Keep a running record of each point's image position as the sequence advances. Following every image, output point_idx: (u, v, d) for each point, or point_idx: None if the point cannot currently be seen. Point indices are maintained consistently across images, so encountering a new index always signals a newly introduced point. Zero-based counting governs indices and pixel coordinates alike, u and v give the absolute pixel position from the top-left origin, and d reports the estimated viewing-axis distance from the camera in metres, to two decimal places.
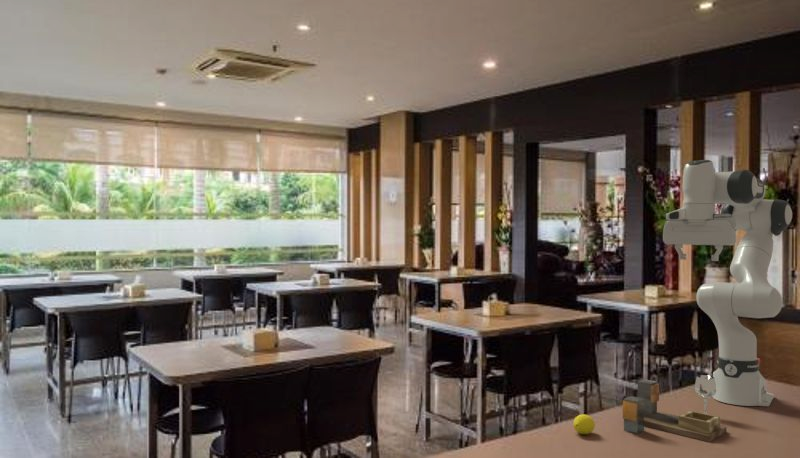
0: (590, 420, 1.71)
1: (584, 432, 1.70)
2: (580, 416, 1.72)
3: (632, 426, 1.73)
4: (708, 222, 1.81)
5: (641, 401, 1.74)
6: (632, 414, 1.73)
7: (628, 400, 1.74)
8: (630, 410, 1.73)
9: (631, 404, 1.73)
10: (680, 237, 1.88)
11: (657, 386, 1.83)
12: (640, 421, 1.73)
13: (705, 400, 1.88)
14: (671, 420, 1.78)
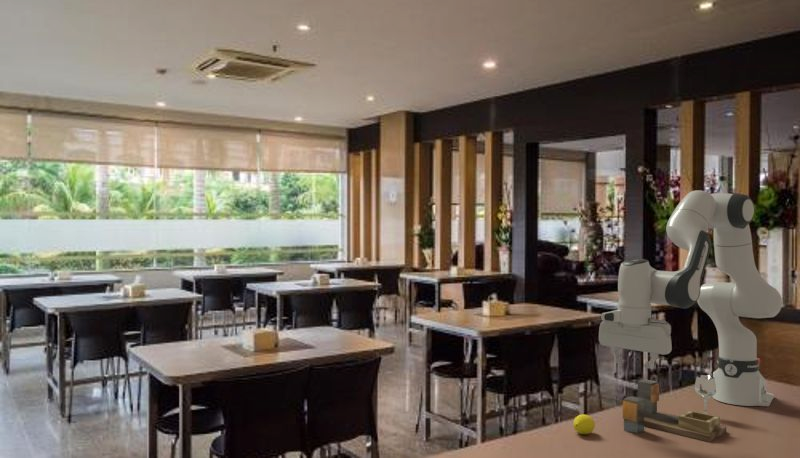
0: (590, 420, 1.71)
1: (584, 432, 1.70)
2: (580, 416, 1.72)
3: (632, 426, 1.73)
4: (643, 327, 1.71)
5: (641, 401, 1.74)
6: (632, 414, 1.73)
7: (628, 400, 1.74)
8: (630, 410, 1.73)
9: (631, 404, 1.73)
10: (615, 339, 1.77)
11: (657, 386, 1.83)
12: (640, 421, 1.73)
13: (705, 400, 1.88)
14: (671, 420, 1.78)
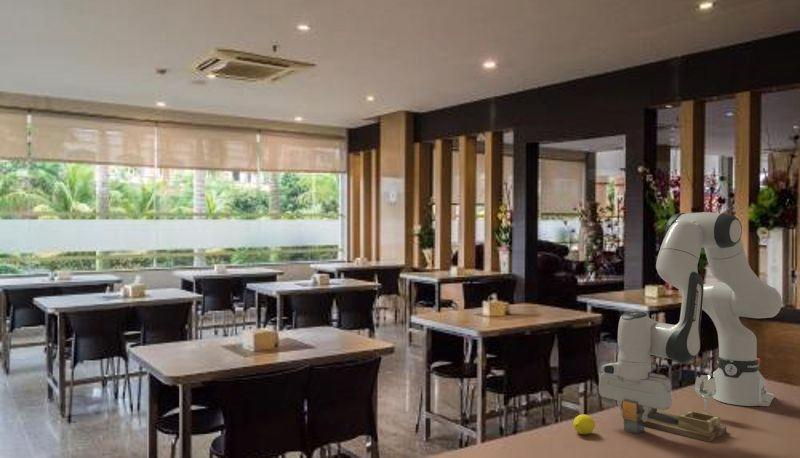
0: (590, 420, 1.71)
1: (584, 432, 1.70)
2: (580, 416, 1.71)
3: (632, 426, 1.73)
4: (643, 382, 1.71)
5: None
6: (632, 414, 1.73)
7: (628, 400, 1.74)
8: (630, 410, 1.73)
9: (631, 404, 1.73)
10: (615, 392, 1.77)
11: None
12: (640, 421, 1.73)
13: (705, 400, 1.88)
14: (671, 420, 1.78)
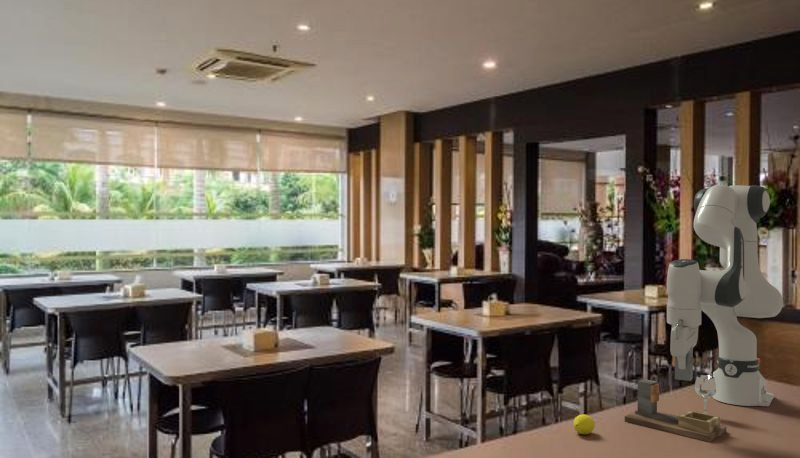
0: (590, 420, 1.71)
1: (584, 432, 1.70)
2: (580, 416, 1.71)
3: None
4: None
5: None
6: None
7: None
8: None
9: None
10: None
11: (657, 386, 1.83)
12: None
13: (705, 400, 1.88)
14: (671, 420, 1.78)
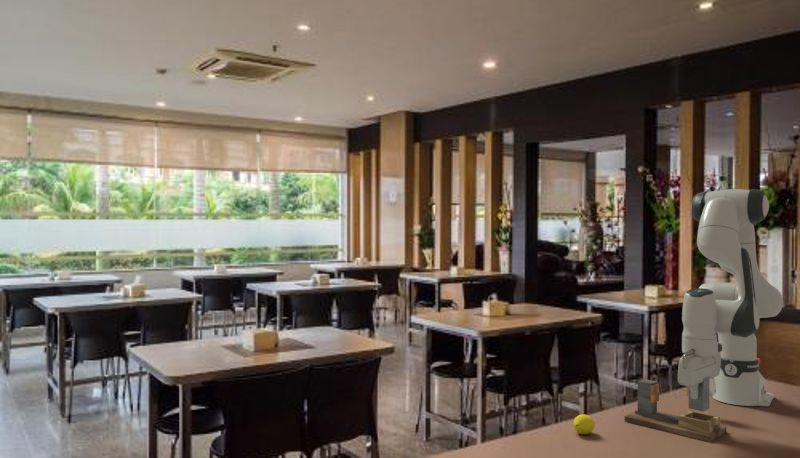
0: (590, 420, 1.71)
1: (584, 432, 1.70)
2: (580, 416, 1.71)
3: None
4: None
5: None
6: None
7: None
8: None
9: None
10: None
11: (657, 386, 1.83)
12: None
13: None
14: (671, 420, 1.78)
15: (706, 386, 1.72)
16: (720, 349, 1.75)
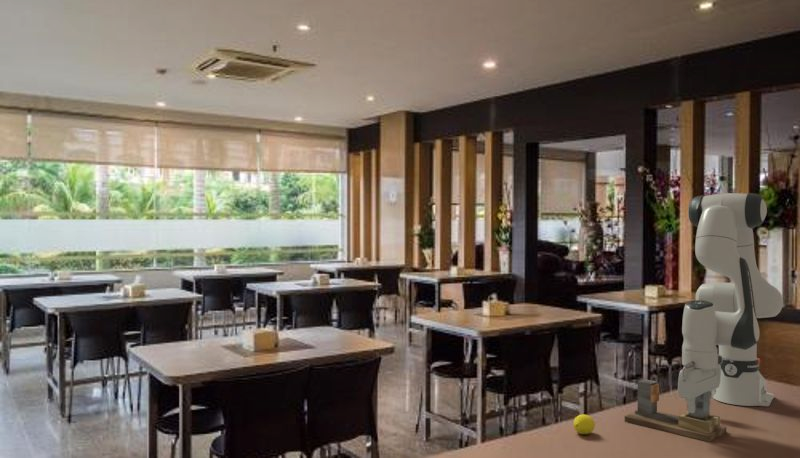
0: (590, 420, 1.71)
1: (584, 432, 1.70)
2: (580, 416, 1.71)
3: None
4: None
5: None
6: None
7: None
8: None
9: None
10: None
11: (657, 386, 1.83)
12: (696, 413, 1.72)
13: None
14: (671, 420, 1.78)
15: (706, 401, 1.72)
16: (720, 361, 1.75)
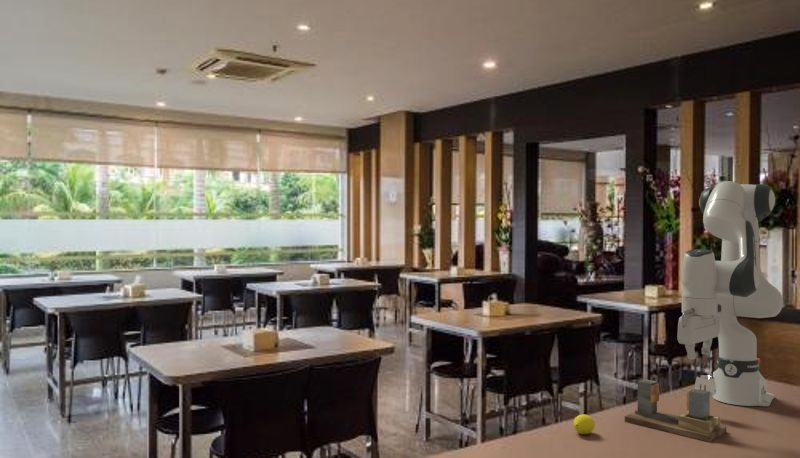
0: (590, 420, 1.71)
1: (584, 432, 1.70)
2: (580, 416, 1.71)
3: None
4: None
5: (697, 394, 1.72)
6: None
7: (692, 390, 1.75)
8: None
9: None
10: None
11: (657, 386, 1.83)
12: (696, 413, 1.72)
13: None
14: (671, 420, 1.78)
15: (706, 401, 1.72)
16: (720, 309, 1.76)
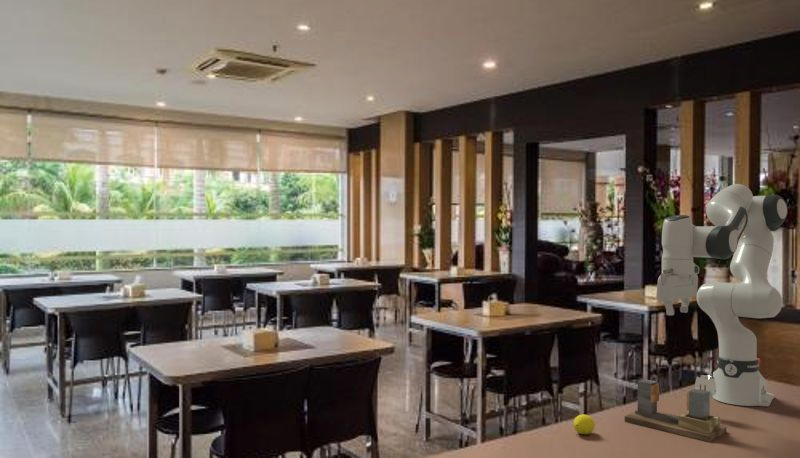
0: (590, 420, 1.71)
1: (584, 432, 1.70)
2: (580, 416, 1.71)
3: None
4: None
5: (697, 394, 1.72)
6: None
7: (692, 390, 1.75)
8: None
9: None
10: None
11: (657, 386, 1.83)
12: (696, 413, 1.72)
13: None
14: (671, 420, 1.78)
15: (706, 401, 1.72)
16: (697, 271, 1.91)
